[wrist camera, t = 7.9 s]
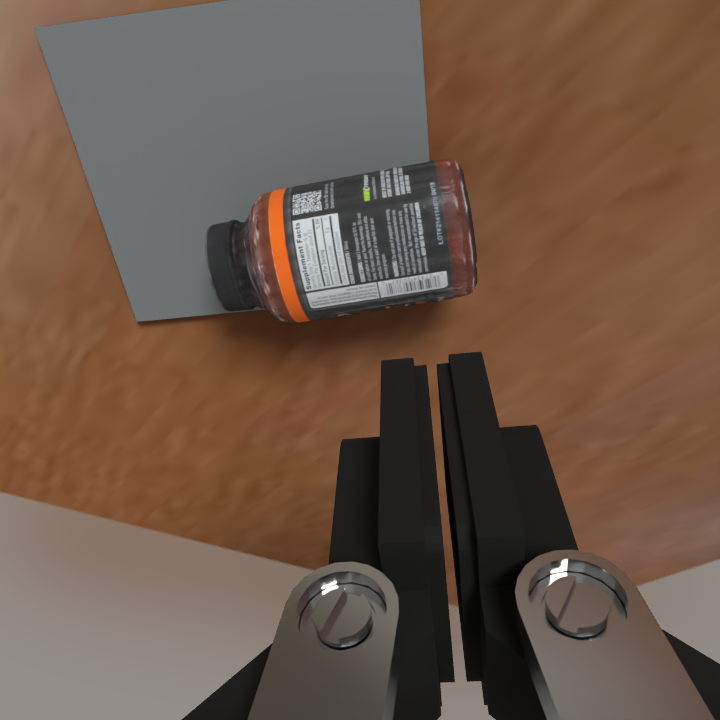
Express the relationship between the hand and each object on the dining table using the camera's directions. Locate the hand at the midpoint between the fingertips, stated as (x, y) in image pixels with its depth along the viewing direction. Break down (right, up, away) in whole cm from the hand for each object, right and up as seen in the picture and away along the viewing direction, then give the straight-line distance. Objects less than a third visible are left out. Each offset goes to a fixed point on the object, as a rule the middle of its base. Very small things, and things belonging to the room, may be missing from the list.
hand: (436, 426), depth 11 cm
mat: (-6, +10, +19) cm, 22 cm away
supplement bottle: (+4, +7, +16) cm, 18 cm away
